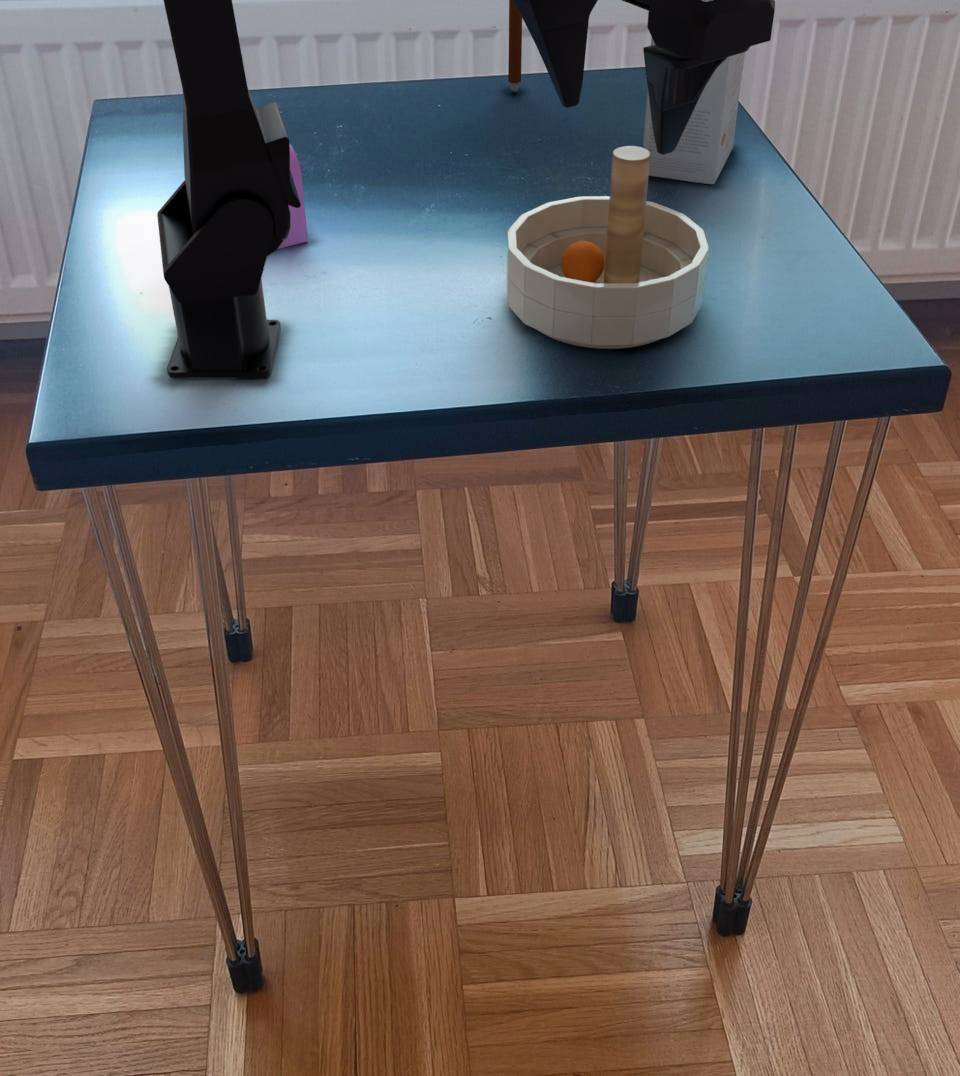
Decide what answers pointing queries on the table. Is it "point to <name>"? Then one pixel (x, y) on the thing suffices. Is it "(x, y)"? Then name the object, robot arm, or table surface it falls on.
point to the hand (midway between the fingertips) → (616, 128)
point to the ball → (583, 261)
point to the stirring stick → (626, 214)
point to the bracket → (296, 214)
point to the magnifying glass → (514, 46)
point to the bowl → (601, 307)
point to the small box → (702, 129)
